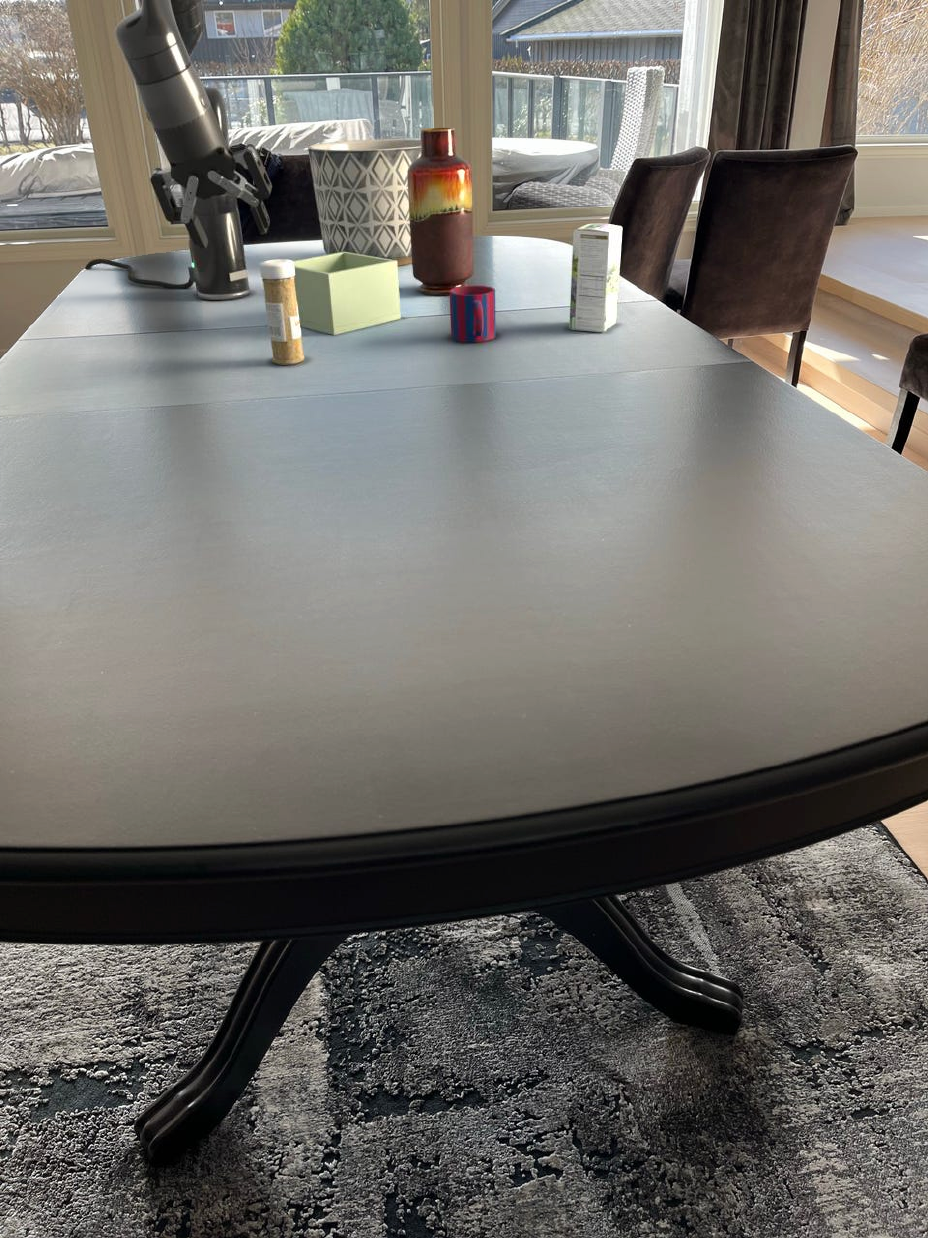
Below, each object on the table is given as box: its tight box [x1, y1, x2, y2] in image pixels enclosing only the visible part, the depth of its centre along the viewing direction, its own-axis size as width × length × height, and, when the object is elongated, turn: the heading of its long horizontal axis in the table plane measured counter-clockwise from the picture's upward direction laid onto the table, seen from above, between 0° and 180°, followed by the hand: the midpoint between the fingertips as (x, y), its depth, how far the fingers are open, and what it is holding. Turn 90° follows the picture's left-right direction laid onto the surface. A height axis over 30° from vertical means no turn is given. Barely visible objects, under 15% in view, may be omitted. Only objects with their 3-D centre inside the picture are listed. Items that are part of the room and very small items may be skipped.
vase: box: [407, 127, 474, 297], centre depth 164 cm, size 11×11×26 cm
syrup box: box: [568, 222, 623, 333], centre depth 141 cm, size 6×6×14 cm
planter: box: [307, 138, 421, 266], centre depth 193 cm, size 26×26×22 cm
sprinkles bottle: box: [259, 258, 305, 366], centre depth 130 cm, size 5×5×13 cm
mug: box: [449, 285, 497, 344], centre depth 139 cm, size 7×10×7 cm
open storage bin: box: [292, 252, 402, 336], centre depth 151 cm, size 14×14×9 cm
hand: (234, 238), depth 125 cm, fingers open, 8 cm apart
